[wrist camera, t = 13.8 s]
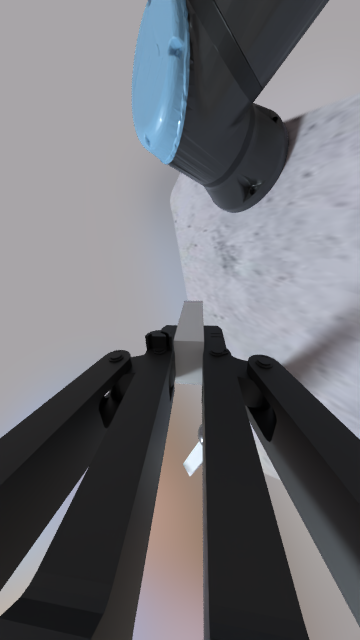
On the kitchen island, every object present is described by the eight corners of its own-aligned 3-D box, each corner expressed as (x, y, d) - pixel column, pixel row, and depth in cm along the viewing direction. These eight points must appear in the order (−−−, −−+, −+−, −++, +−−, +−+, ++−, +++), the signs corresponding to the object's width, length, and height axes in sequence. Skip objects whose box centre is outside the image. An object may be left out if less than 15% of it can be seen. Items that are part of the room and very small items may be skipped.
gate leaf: (260, 385, 36) (209, 426, 25) (268, 392, 35) (220, 439, 24) (233, 418, 42) (182, 464, 31) (239, 426, 41) (190, 476, 30)
